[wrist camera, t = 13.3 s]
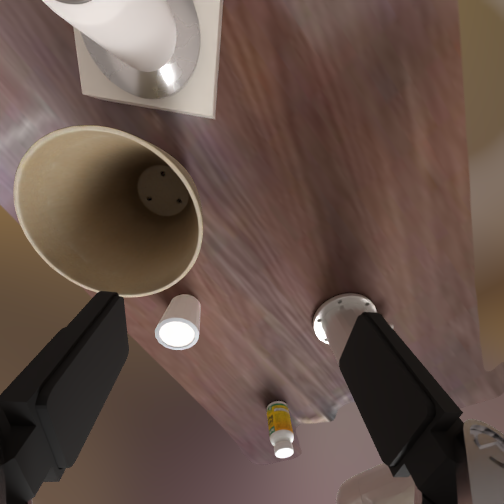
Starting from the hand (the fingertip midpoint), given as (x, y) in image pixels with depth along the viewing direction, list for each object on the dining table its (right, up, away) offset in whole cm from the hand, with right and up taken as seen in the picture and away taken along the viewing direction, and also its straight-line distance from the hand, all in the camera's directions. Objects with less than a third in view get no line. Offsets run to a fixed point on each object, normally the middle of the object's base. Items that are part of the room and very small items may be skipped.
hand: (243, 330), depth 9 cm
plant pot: (-12, +12, +25) cm, 30 cm away
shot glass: (-12, -7, +34) cm, 37 cm away
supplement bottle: (+7, -35, +49) cm, 61 cm away
